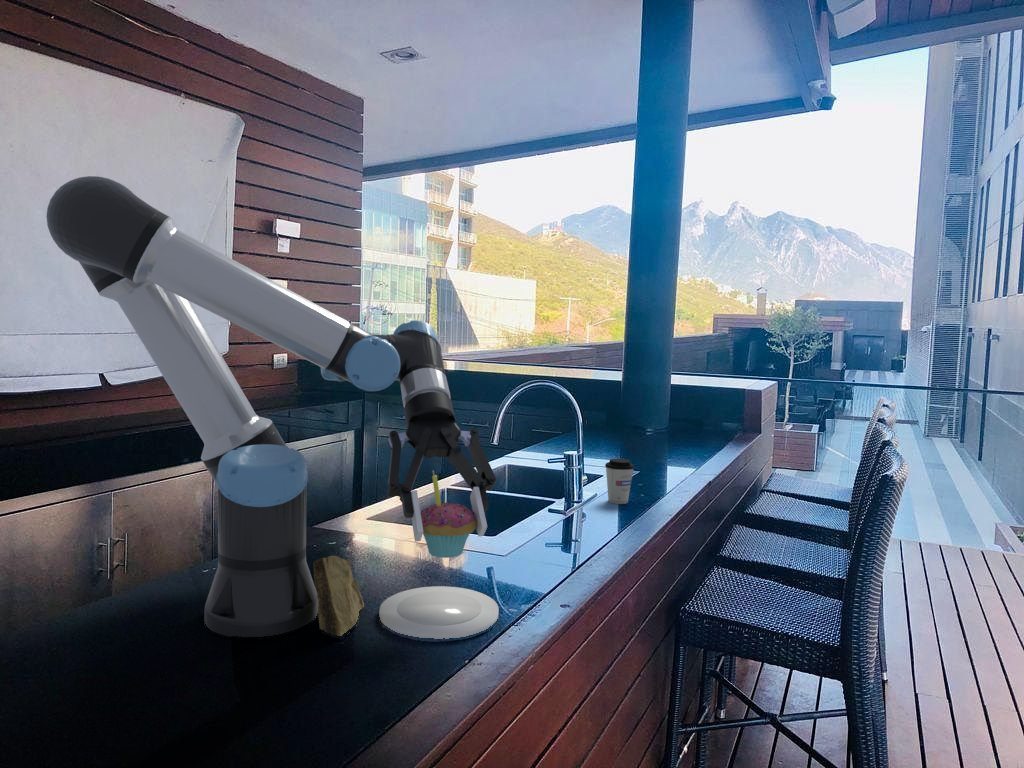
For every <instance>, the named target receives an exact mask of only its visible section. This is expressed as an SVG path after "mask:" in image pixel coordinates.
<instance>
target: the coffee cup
mask: <svg viewBox="0 0 1024 768" xmlns="http://www.w3.org/2000/svg"><path fill="white" fill-rule="evenodd" d="M604 467H605V470H606V471H605V472H606V484H607V486H606V487H607V499H608V502H609V503H611V504H617V505H624V504H628V503H629V497H630V490H631V484H632V478H633V473H634V469H635V466H634V464H633V463H631V461H630V459H626V458H610V459H609V462H606V463H605V465H604Z"/></svg>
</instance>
